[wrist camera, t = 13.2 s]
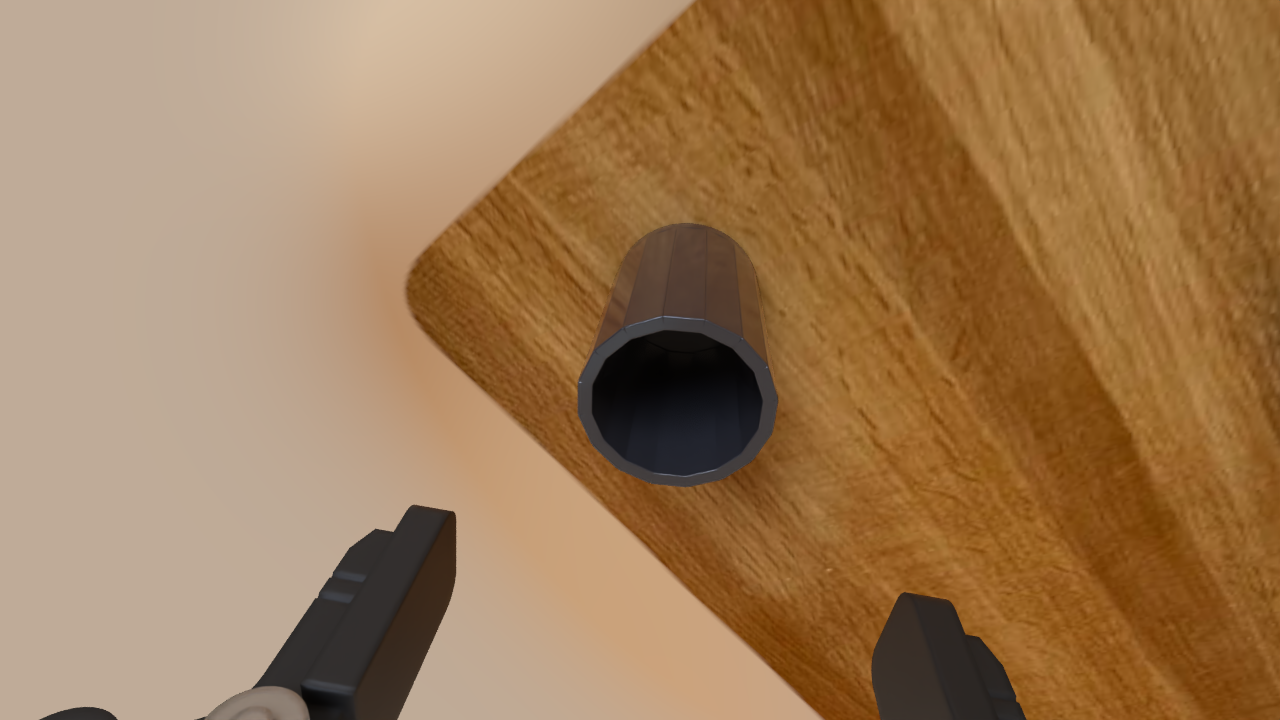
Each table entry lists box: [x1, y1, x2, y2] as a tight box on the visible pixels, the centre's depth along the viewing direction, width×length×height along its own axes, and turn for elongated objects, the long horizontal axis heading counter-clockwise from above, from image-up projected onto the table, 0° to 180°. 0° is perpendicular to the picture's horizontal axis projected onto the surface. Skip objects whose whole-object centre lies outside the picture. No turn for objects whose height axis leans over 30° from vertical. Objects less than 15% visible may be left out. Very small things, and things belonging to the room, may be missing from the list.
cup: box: [578, 223, 778, 487], centre depth 21 cm, size 5×5×8 cm
